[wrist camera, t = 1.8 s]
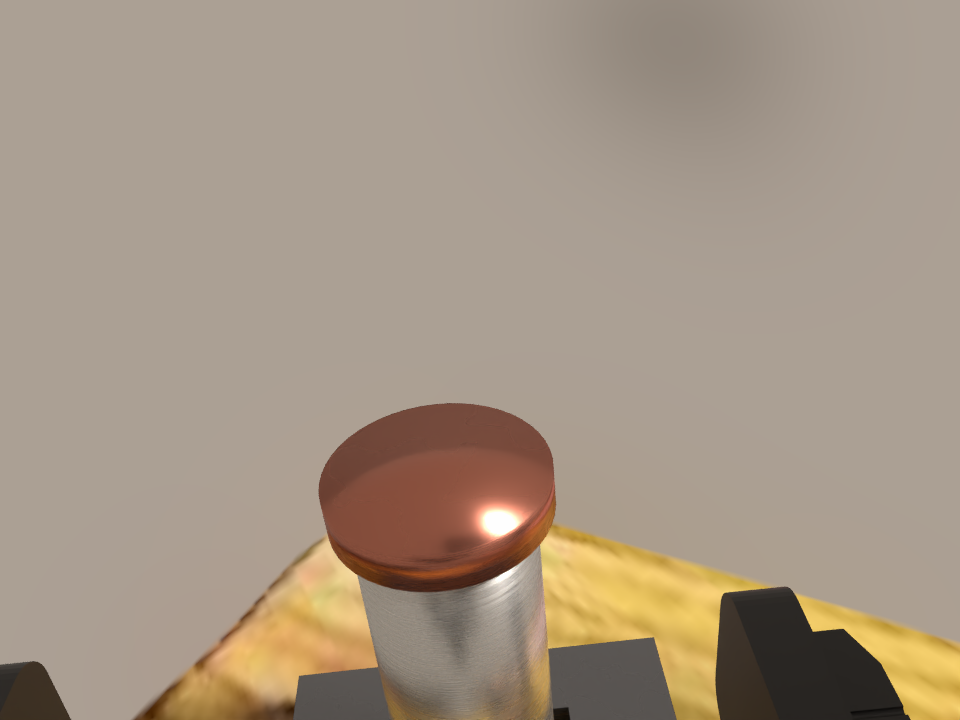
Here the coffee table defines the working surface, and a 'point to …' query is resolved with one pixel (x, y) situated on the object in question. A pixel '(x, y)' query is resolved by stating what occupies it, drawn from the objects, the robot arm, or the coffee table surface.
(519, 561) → the capped metal cylinder
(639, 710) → the bore housing
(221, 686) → the coffee table surface
